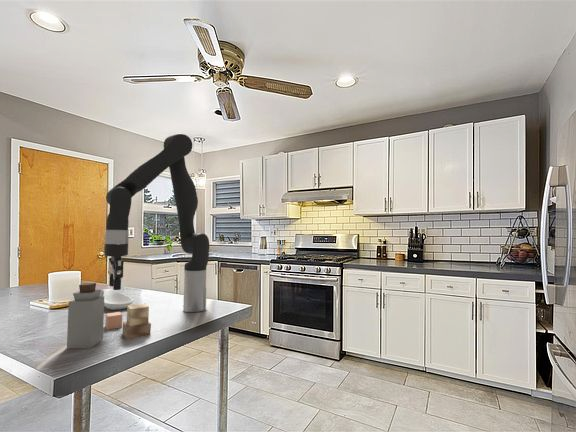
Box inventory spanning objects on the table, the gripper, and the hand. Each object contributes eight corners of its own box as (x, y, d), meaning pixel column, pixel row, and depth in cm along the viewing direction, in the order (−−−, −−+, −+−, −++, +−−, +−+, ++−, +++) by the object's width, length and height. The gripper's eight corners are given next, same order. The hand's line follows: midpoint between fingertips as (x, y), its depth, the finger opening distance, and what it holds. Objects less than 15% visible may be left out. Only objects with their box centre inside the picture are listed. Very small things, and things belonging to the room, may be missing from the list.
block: (119, 324, 114) (119, 311, 114) (121, 327, 110) (122, 314, 110) (105, 326, 111) (105, 313, 111) (107, 329, 107) (107, 316, 108)
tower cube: (144, 319, 107) (144, 303, 107) (148, 323, 103) (148, 306, 103) (126, 322, 104) (127, 305, 104) (130, 326, 99) (130, 309, 99)
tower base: (145, 330, 108) (145, 318, 108) (150, 335, 102) (150, 323, 102) (122, 334, 103) (122, 322, 104) (126, 340, 98) (127, 327, 98)
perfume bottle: (80, 340, 97) (82, 282, 98) (102, 339, 98) (104, 282, 98) (66, 348, 90) (69, 286, 91) (91, 347, 91) (93, 285, 92)
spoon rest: (138, 308, 137) (138, 291, 137) (110, 314, 127) (111, 296, 128) (111, 300, 150) (112, 285, 151) (85, 305, 141) (85, 289, 141)
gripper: (101, 241, 115) (99, 286, 114) (108, 243, 104) (105, 292, 103) (124, 241, 120) (122, 284, 119) (132, 243, 108) (130, 290, 108)
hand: (114, 287), depth 111 cm, fingers open, 8 cm apart
